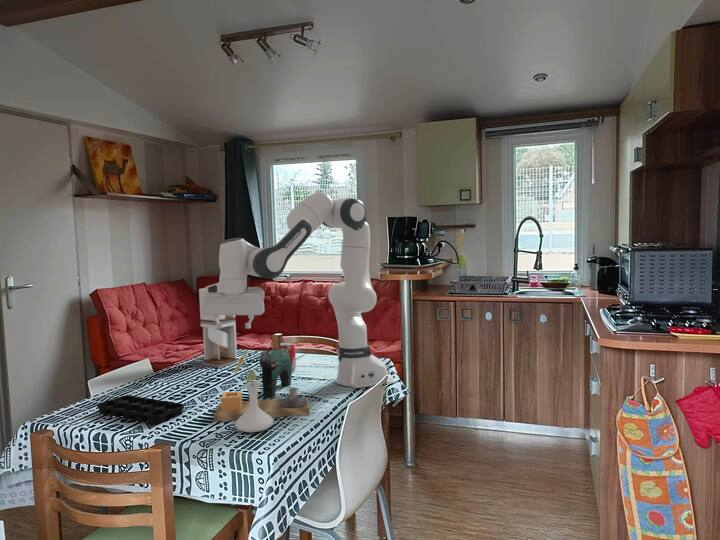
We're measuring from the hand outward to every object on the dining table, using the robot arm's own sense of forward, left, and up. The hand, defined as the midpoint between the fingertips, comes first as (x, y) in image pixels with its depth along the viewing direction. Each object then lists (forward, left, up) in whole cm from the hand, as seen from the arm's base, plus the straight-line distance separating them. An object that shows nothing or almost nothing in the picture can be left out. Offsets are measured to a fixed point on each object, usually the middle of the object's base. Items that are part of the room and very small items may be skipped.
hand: (233, 328), depth 170 cm
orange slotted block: (+1, +4, -26) cm, 26 cm away
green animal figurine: (-13, -18, -28) cm, 36 cm away
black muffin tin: (+32, -3, -28) cm, 43 cm away
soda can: (-17, -46, -28) cm, 57 cm away
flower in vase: (-7, +19, -28) cm, 34 cm away
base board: (-9, +4, -28) cm, 29 cm away
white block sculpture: (+14, -67, -28) cm, 74 cm away
